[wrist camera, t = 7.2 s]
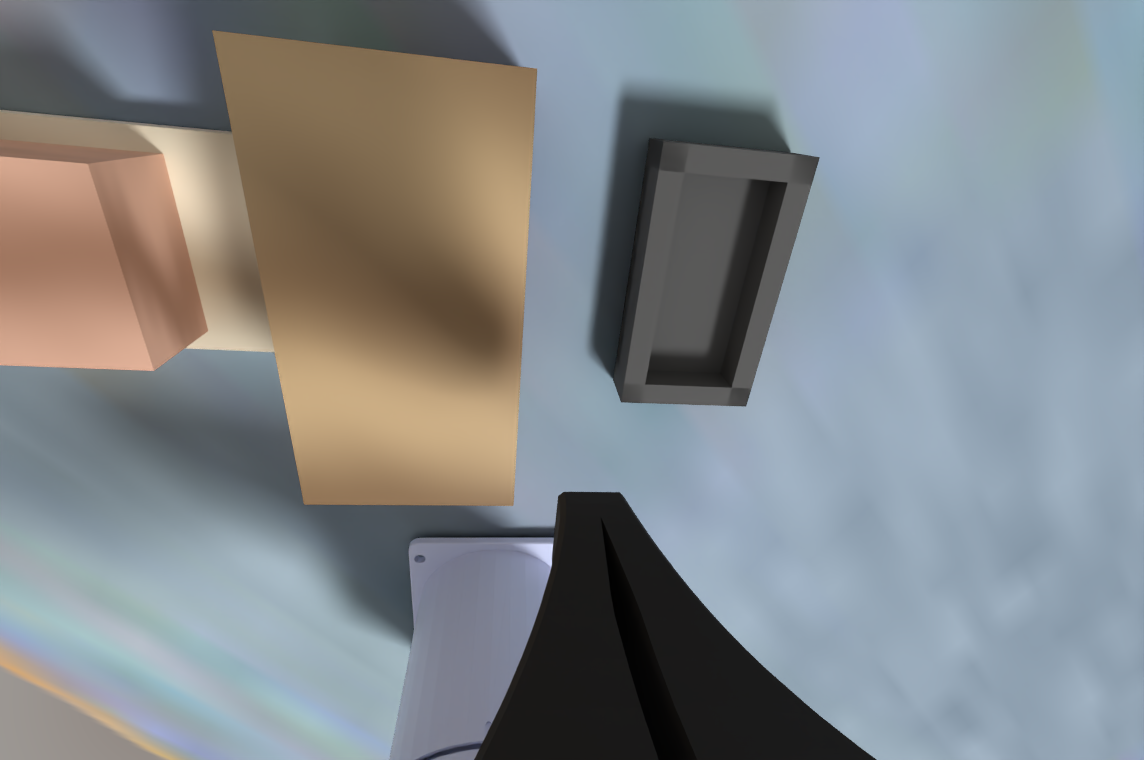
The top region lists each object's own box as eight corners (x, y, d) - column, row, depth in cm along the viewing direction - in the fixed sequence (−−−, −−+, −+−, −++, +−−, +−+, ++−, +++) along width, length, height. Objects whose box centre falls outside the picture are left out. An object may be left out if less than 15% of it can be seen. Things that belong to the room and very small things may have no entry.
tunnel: (514, 401, 21) (513, 505, 15) (361, 396, 20) (303, 504, 15) (529, 81, 16) (537, 69, 10) (323, 58, 15) (212, 30, 9)
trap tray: (729, 384, 22) (745, 406, 20) (613, 379, 21) (621, 402, 19) (791, 152, 17) (819, 157, 16) (649, 138, 17) (663, 141, 15)
